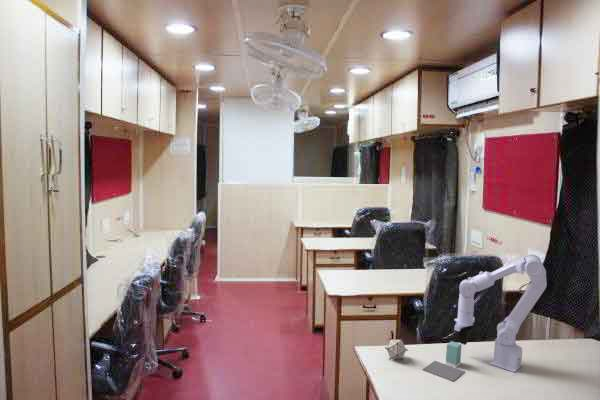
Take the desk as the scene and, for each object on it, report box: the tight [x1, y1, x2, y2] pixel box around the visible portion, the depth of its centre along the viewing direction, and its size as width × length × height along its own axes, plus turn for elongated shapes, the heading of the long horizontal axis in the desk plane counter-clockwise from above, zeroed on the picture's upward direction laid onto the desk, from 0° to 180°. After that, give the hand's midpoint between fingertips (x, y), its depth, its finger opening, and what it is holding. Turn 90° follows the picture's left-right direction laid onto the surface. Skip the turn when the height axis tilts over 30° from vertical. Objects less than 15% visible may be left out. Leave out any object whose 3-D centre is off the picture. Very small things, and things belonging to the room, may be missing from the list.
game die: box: [384, 337, 409, 362], centre depth 178 cm, size 9×8×10 cm
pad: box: [422, 360, 466, 382], centre depth 169 cm, size 12×10×1 cm
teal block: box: [445, 340, 463, 368], centre depth 175 cm, size 4×4×8 cm
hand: (463, 343), depth 181 cm, fingers closed
